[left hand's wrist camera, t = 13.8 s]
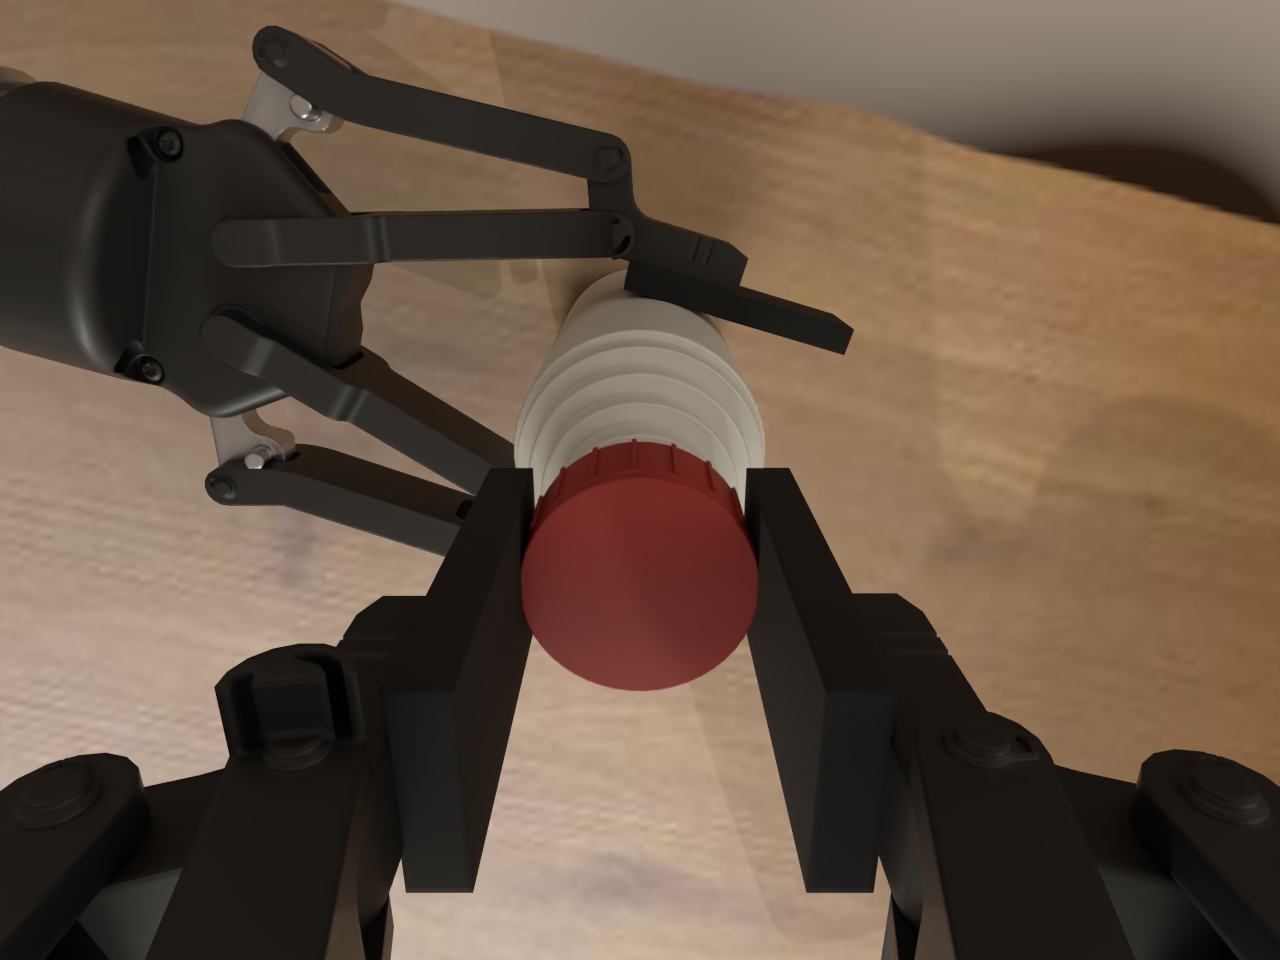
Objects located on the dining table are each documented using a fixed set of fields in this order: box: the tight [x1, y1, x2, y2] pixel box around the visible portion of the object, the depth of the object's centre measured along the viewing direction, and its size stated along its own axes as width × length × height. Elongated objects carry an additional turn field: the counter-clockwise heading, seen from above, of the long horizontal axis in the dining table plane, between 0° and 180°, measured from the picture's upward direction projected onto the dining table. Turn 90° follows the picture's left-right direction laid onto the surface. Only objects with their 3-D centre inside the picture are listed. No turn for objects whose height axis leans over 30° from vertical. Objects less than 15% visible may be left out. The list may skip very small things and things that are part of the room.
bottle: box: [514, 269, 766, 514], centre depth 22 cm, size 6×6×19 cm
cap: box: [521, 439, 759, 691], centre depth 14 cm, size 4×4×2 cm
